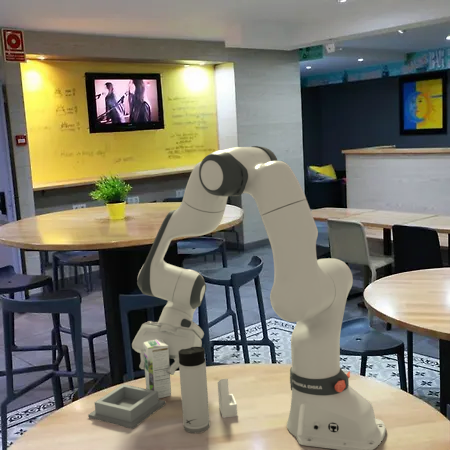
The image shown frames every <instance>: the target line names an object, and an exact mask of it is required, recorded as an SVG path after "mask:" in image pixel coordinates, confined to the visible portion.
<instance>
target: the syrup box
mask: <svg viewBox="0 0 450 450" xmlns="http://www.w3.org/2000/svg"><path fill="white" fill-rule="evenodd" d="M143 346H144V362H145V369H144V377H145V389H149V390H153V391H158V399H159V400H160V399H162V398H167V397H171V396H172V387H171V383H172V382H171V374H168V373H167V372H166V371H167V369H168V366H170V358H169V351H168V345H167V344H166V342H165V341H164V340H163V339H159V340H151V341H147V342H144V343H143Z"/></svg>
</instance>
